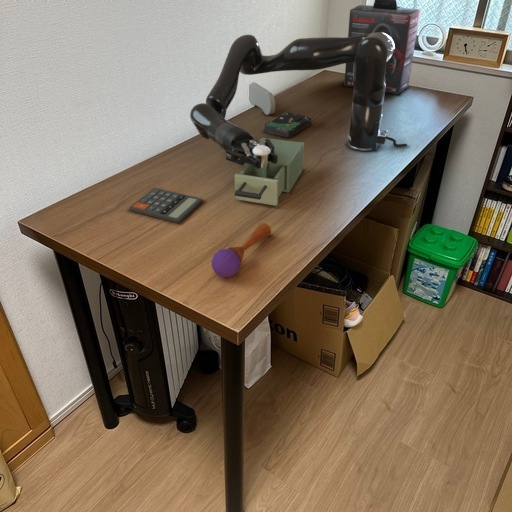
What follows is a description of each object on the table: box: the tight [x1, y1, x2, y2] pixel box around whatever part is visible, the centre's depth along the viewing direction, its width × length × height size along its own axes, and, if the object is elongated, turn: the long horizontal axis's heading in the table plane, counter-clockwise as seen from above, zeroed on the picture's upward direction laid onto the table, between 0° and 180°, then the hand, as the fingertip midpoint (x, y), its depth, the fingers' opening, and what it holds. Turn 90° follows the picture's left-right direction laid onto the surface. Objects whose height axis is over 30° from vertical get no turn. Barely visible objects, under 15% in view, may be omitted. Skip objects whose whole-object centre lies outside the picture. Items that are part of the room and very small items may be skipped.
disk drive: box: [263, 111, 312, 138], centre depth 169 cm, size 10×3×15 cm
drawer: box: [233, 163, 287, 207], centre depth 128 cm, size 19×11×7 cm, turn 161°
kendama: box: [211, 222, 272, 278], centre depth 108 cm, size 6×6×20 cm
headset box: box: [343, 0, 421, 95], centre depth 196 cm, size 25×12×33 cm, turn 57°
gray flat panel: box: [248, 82, 276, 116], centre depth 183 cm, size 20×2×8 cm, turn 26°
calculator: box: [129, 187, 203, 224], centre depth 128 cm, size 12×1×15 cm
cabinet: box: [244, 137, 305, 193], centre depth 138 cm, size 14×13×9 cm
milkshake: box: [253, 144, 274, 178], centre depth 126 cm, size 4×5×10 cm
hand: (267, 162), depth 123 cm, fingers closed on milkshake, 4 cm apart
